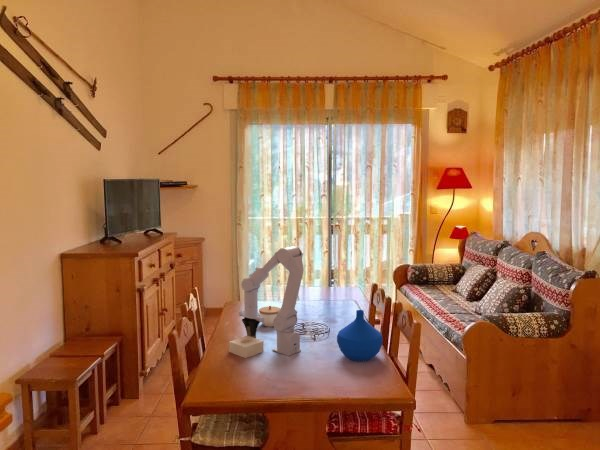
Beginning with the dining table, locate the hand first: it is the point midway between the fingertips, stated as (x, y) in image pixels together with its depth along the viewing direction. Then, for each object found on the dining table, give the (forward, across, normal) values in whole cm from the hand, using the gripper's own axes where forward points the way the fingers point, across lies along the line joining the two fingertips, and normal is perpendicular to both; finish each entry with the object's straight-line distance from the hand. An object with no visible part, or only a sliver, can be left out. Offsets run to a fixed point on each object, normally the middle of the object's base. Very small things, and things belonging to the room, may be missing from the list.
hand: (251, 334), depth 208 cm
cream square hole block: (+3, -7, +9) cm, 12 cm away
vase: (+4, -45, -18) cm, 49 cm away
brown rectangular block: (+3, 0, 0) cm, 3 cm away
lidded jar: (+4, +12, -23) cm, 26 cm away
